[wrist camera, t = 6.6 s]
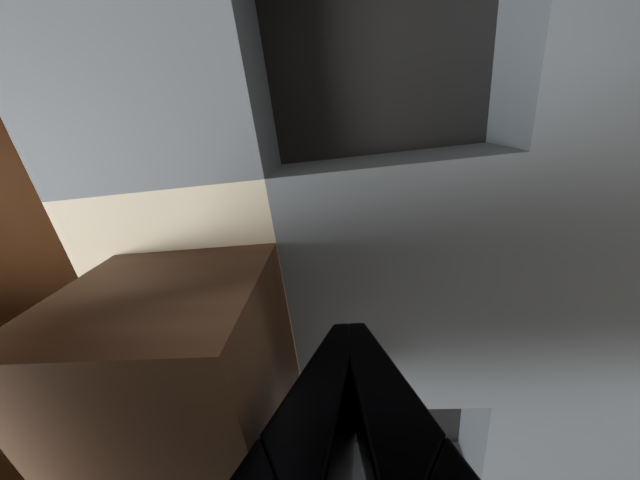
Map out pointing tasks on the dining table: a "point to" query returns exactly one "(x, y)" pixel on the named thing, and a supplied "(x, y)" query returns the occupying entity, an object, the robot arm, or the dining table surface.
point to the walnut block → (148, 367)
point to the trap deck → (374, 186)
